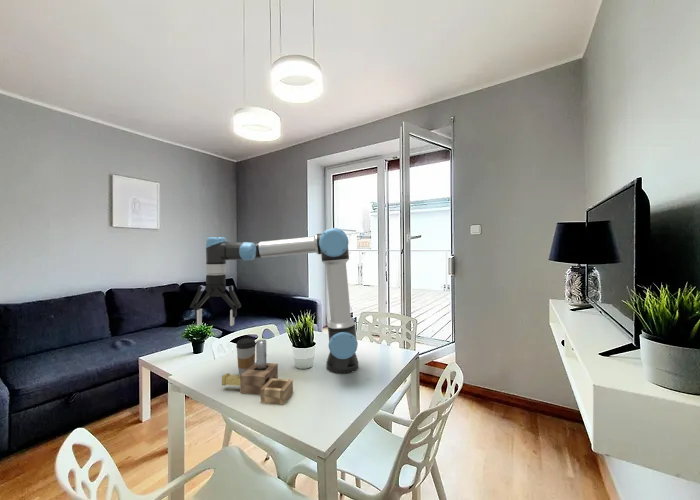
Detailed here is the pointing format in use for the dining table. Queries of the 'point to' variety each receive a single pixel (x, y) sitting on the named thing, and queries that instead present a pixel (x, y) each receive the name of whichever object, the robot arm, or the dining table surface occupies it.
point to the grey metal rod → (261, 355)
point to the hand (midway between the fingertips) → (215, 325)
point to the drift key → (231, 379)
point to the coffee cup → (245, 354)
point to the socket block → (257, 378)
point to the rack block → (276, 391)
